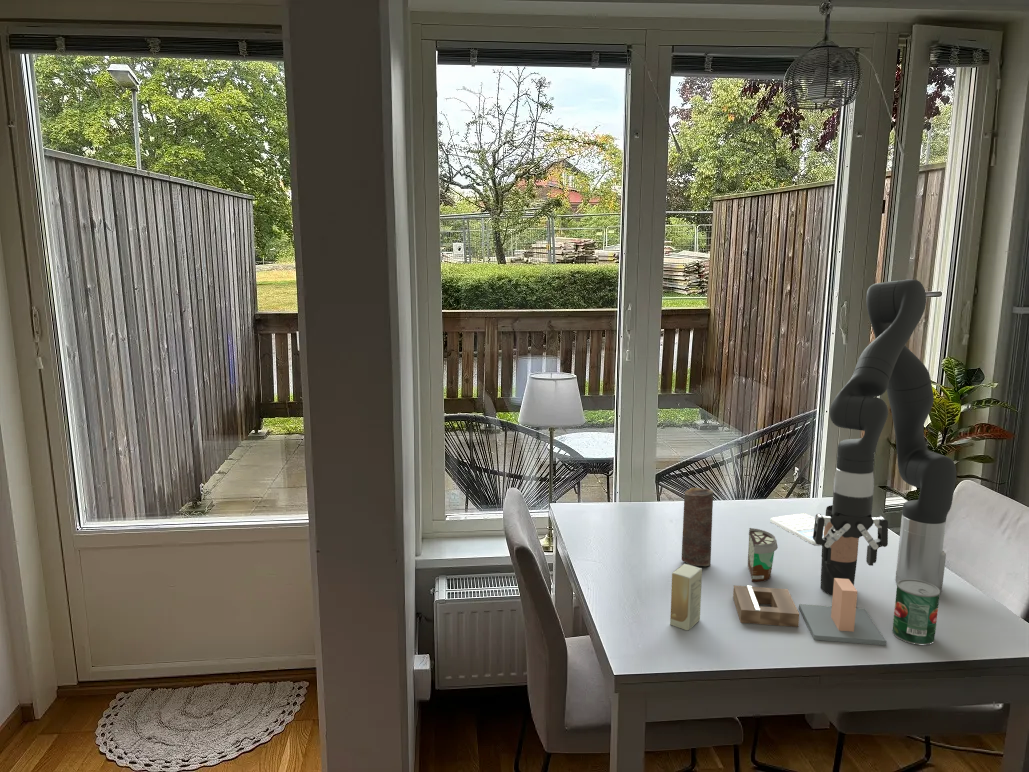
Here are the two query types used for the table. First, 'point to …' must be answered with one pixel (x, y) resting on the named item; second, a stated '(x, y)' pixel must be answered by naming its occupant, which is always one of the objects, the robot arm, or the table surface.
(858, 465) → the robot arm
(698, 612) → the skincare box
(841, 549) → the travel mug
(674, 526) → the table surface
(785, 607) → the brown flat square frame
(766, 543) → the food container
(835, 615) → the tall peach block
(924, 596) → the canned tomato
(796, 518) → the calculator
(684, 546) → the candle
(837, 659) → the table surface
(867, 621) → the mat
